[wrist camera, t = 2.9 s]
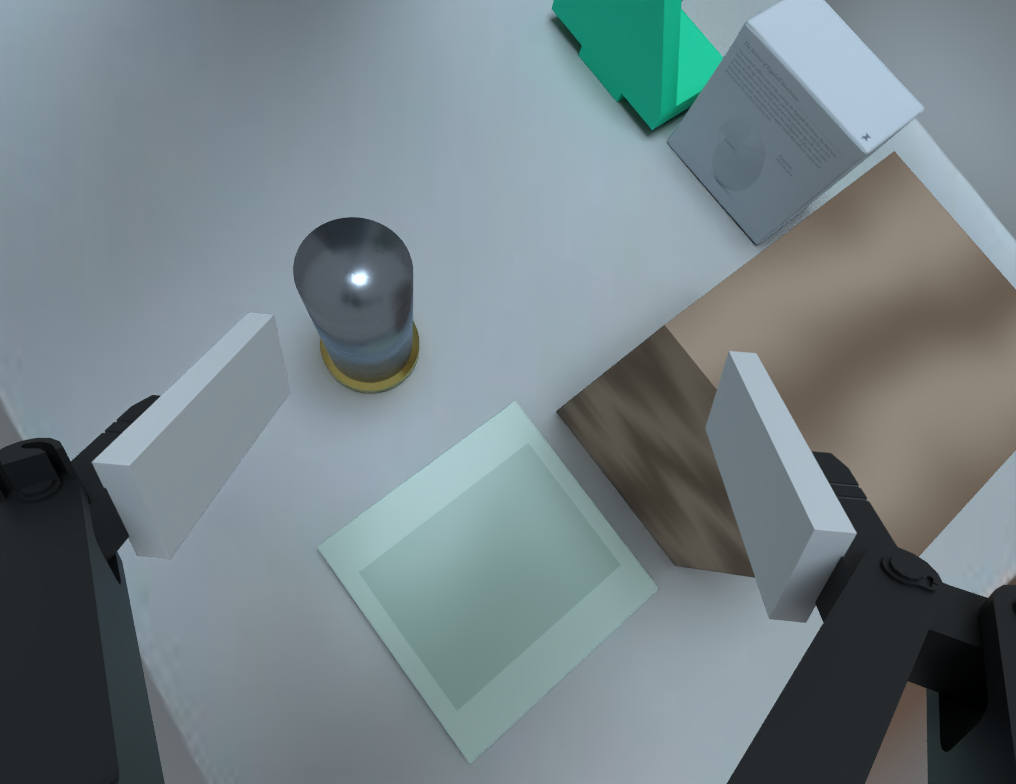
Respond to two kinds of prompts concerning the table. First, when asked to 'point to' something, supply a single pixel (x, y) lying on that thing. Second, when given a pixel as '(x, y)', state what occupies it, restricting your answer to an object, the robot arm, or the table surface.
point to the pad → (488, 577)
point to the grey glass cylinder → (360, 302)
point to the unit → (825, 372)
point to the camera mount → (642, 52)
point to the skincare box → (789, 114)
